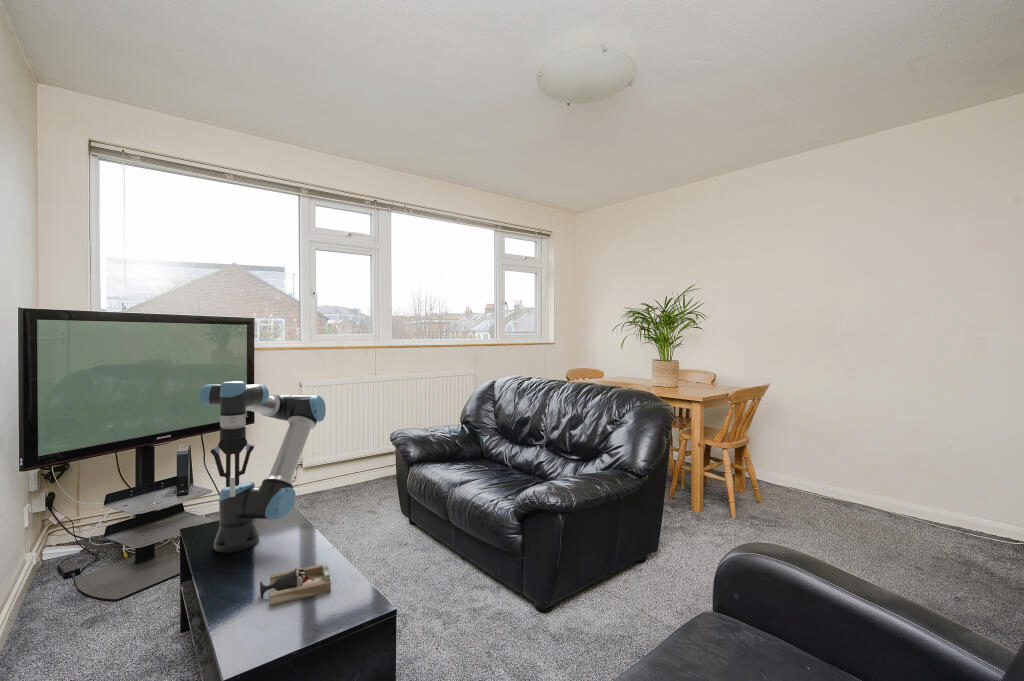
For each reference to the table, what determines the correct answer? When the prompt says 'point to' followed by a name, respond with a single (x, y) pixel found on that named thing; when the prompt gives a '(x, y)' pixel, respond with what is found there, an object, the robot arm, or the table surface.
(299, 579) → the sundae
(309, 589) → the rest
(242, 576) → the table surface
